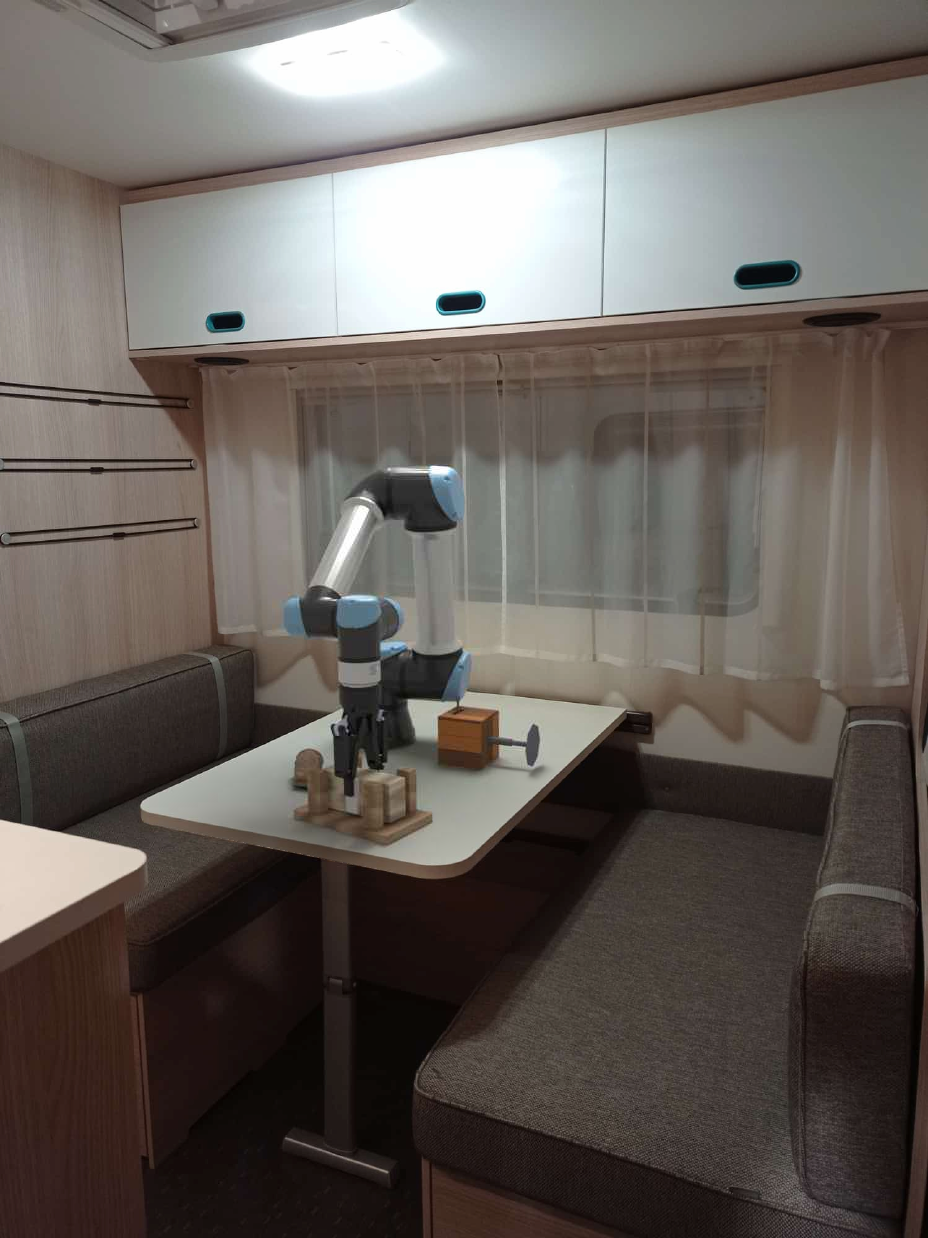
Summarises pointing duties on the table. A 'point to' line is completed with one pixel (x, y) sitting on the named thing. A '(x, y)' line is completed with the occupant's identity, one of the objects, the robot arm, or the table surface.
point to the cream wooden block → (337, 800)
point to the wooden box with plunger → (477, 738)
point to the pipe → (306, 765)
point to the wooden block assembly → (363, 808)
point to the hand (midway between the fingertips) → (362, 807)
